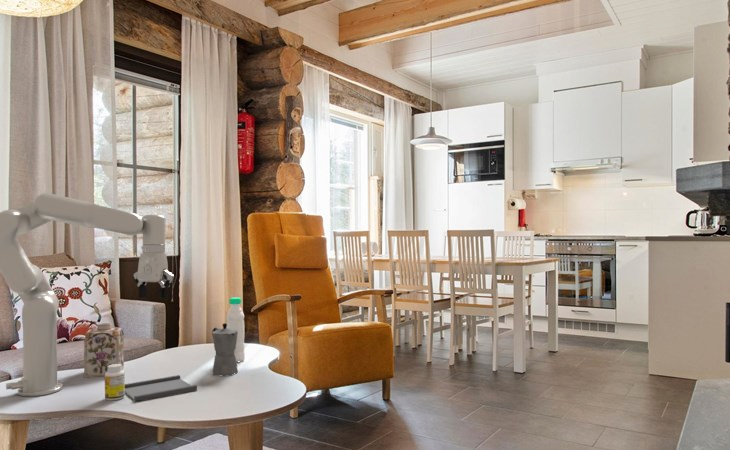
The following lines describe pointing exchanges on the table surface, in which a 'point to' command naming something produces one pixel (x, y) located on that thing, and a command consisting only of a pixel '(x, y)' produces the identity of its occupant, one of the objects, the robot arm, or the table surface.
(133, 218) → the robot arm
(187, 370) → the table surface
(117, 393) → the supplement bottle
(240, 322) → the water bottle
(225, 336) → the coffeepot
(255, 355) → the table surface
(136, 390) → the mat
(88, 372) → the decorative jar
